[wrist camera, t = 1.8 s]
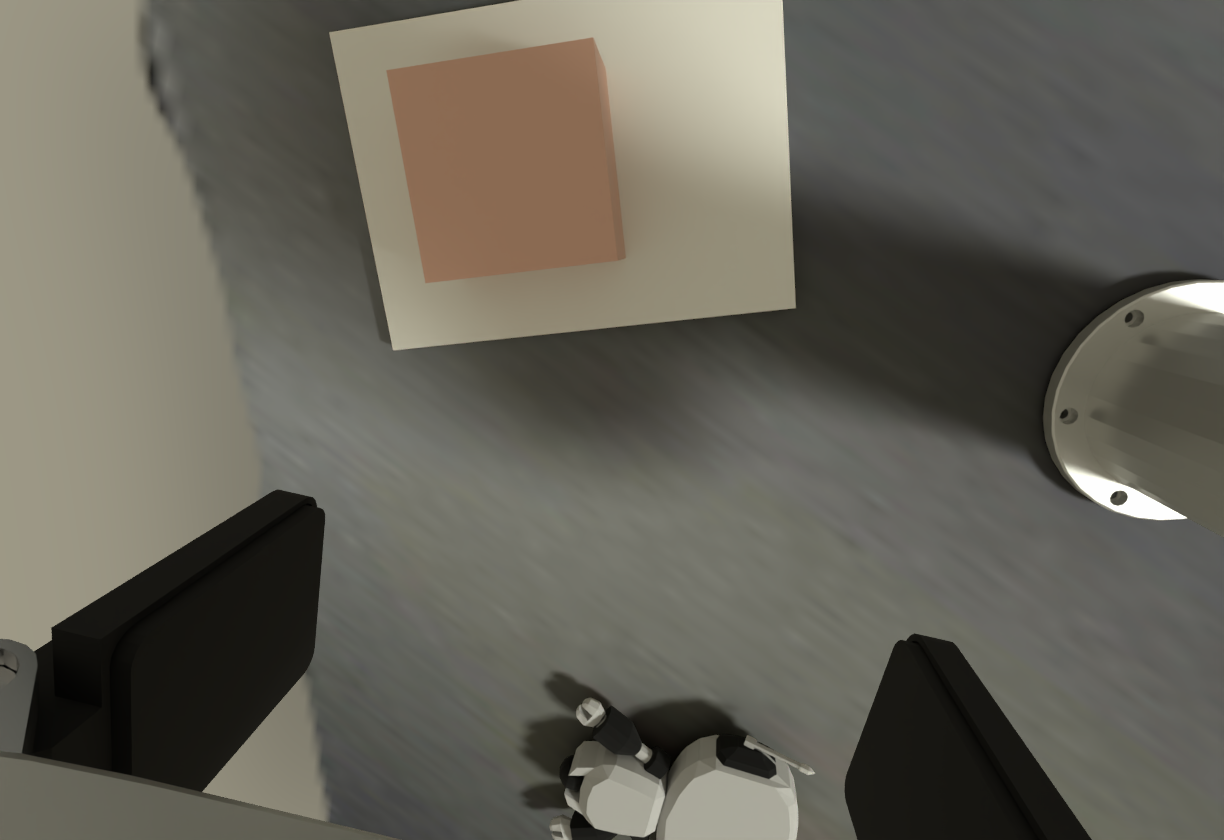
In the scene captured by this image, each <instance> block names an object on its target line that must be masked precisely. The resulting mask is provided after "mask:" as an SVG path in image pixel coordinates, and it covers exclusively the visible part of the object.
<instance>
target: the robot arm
mask: <svg viewBox="0 0 1224 840" xmlns="http://www.w3.org/2000/svg"><path fill="white" fill-rule="evenodd" d="M1126 315H1127V317H1126ZM1125 317H1126V319H1125ZM1062 411H1063V414H1062V415H1061V412H1062ZM1060 415H1061V416H1060ZM1043 425H1044V434H1045V441H1046V444H1047V447H1048V449H1049V452H1050V455H1051V458H1052V460H1053V462H1054V463H1055V465H1056V467H1057V468H1058V470H1059V471H1060V473H1061V475H1062V476H1063V477H1064V478H1065V479H1066V480H1067V481H1068V482H1069V483H1070V484H1071V485H1072V486H1073V487H1074V488H1075V489H1076V490H1077V491H1078V492H1080V493H1082V494H1083V495H1084V496H1086V497H1087V498H1089V499H1090V500H1092V501H1093V502H1095V503H1097V504H1099V505H1100V506H1102V507H1104V508H1106V509H1108V510H1110V511H1112V512H1115V513H1119V514H1122V515H1126V516H1129V517H1133V518H1138V519H1147V520H1157V521H1162V520H1178V519H1186V518H1188V519H1190V520H1192V521H1194V522H1196V523H1197V524H1199V525H1201V526H1203V527H1205V528H1207V529H1209V530H1210V531H1212V532H1214V533H1216V534H1218V535H1220V536H1222V537H1223V538H1224V280H1206V279H1194V280H1184V281H1175V282H1169V283H1166V284H1162V285H1158V286H1155V287H1151V288H1148V289H1145V290H1142V291H1140V292H1138V293H1136V294H1134V295H1132V296H1129V297H1127V298H1125V299H1123V300H1121V301H1119V302H1118V303H1116V304H1115V305H1113V306H1112V307H1110V308H1109V309H1107V310H1106V311H1104V312H1103V313H1101V314H1100V315H1098V316H1097V317H1096V318H1095V319H1094V320H1093V321H1092V322H1091V323H1090V324H1089V325H1087V326H1086V327H1085V328H1084V329H1083V330H1082V331H1081V332H1080V333H1079V334H1078V335H1077V337H1076V338H1075V339H1074V340H1073V342H1072V343H1071V344H1070V346H1069V347H1068V348H1067V349H1066V351H1065V352H1064V353H1063V355H1062V357H1061V359H1060V361H1059V363H1058V365H1057V366H1056V368H1055V370H1054V372H1053V374H1052V377H1051V380H1050V383H1049V386H1048V389H1047V393H1046V396H1045V403H1044V413H1043ZM324 526H325V513H324V510H323V509H321V508H317V504H316V501H315V499H314V498H313V497H309V496H304V495H300V494H296V493H291V492H287V491H282V490H275V491H273V492H271V493H269V494H268V495H266V496H265V497H263V498H261V499H260V500H258V501H256V502H255V503H253V504H252V505H250V506H248V507H247V508H245V509H243V510H242V511H240V512H239V513H237V514H236V515H234V516H232V517H230V518H229V519H227V520H226V521H224V522H223V523H221V524H219V525H218V526H216V527H214V528H213V529H211V530H209V531H208V532H206V533H205V534H203V535H201V536H200V537H198V538H196V539H195V540H193V541H192V542H190V543H188V544H187V545H185V546H184V547H182V548H180V549H179V550H177V551H175V552H174V553H172V554H170V555H169V556H167V557H166V558H164V559H162V560H161V561H159V562H157V563H156V564H154V565H153V566H151V567H149V568H148V569H146V570H144V571H143V572H141V573H140V574H138V575H136V576H135V577H133V578H132V579H130V580H128V581H127V582H125V583H123V584H122V585H121V586H119V587H117V588H115V589H114V590H112V591H110V592H109V593H107V594H106V595H104V596H102V597H101V598H99V599H98V600H96V601H94V602H93V603H91V604H89V605H88V606H86V607H85V608H83V609H81V610H80V611H78V612H76V613H75V614H73V615H72V616H70V617H68V618H67V619H65V620H64V621H62V622H60V623H59V624H57V625H55V626H54V627H52V640H51V641H50V642H48V643H47V644H45V645H44V646H42V647H40V648H39V649H37V650H36V651H32V650H31V649H30V648H29V647H28V646H27V645H25V644H22V643H19V642H16V641H13V640H9V639H0V840H400V839H396V838H392V837H388V836H383V835H379V834H375V833H371V832H367V831H363V830H358V829H354V828H350V827H346V826H342V825H337V824H333V823H329V822H325V821H321V820H316V819H312V818H308V817H303V816H300V815H296V814H291V813H287V812H283V811H279V810H274V809H270V808H266V807H262V806H258V805H253V804H249V803H245V802H241V801H237V800H233V799H228V798H224V797H220V796H216V795H211V794H207V793H203V792H202V791H203V790H204V789H205V788H206V787H207V785H208V784H209V783H210V782H211V781H212V780H213V778H214V777H215V776H216V775H217V774H218V772H219V771H220V770H221V769H222V768H223V767H224V766H225V764H226V763H227V762H228V761H229V760H230V759H231V758H232V756H233V755H234V754H235V753H236V752H237V751H238V749H239V748H240V747H241V746H242V745H243V744H244V743H245V741H246V740H247V739H248V738H249V737H250V736H251V734H252V733H253V732H254V731H255V730H256V729H257V727H258V726H259V725H260V724H261V723H262V722H263V720H264V719H265V718H266V717H267V716H268V715H269V714H270V712H271V711H272V710H273V709H274V707H276V705H277V704H278V703H279V702H280V701H281V700H282V698H283V697H284V696H285V695H286V694H287V693H288V692H289V690H290V689H291V688H292V687H293V686H294V685H295V683H296V682H297V681H298V680H299V679H300V678H301V676H302V675H303V674H304V673H305V671H306V670H307V668H308V666H309V665H310V662H311V660H312V657H313V654H314V648H315V637H316V624H317V612H318V600H319V587H320V575H321V563H322V550H323V538H324ZM845 799H846V803H847V806H848V810H849V813H850V816H851V820H852V823H853V826H854V829H855V833H856V836H857V839H858V840H1092V839H1091V838H1090V837H1089V835H1088V834H1087V832H1086V831H1085V829H1084V828H1083V827H1082V825H1081V824H1080V822H1079V821H1078V819H1077V818H1076V817H1075V815H1074V814H1073V812H1072V811H1071V809H1070V808H1069V807H1068V805H1067V804H1066V802H1065V801H1064V799H1063V798H1062V796H1061V795H1060V794H1059V792H1058V791H1057V789H1056V788H1055V786H1054V785H1053V784H1052V782H1051V781H1050V779H1049V778H1048V776H1047V775H1046V774H1045V772H1044V771H1043V769H1042V768H1041V766H1040V765H1039V763H1038V762H1037V761H1036V759H1035V758H1034V756H1033V755H1032V753H1031V752H1030V751H1029V749H1028V748H1027V746H1026V745H1025V743H1024V742H1023V741H1022V739H1021V738H1020V736H1019V735H1018V733H1017V732H1016V730H1015V729H1014V728H1013V726H1012V725H1011V723H1010V722H1009V720H1008V719H1007V718H1006V716H1005V715H1004V713H1003V712H1002V710H1001V709H1000V708H999V706H998V705H997V703H996V702H995V700H994V699H993V698H992V696H991V695H990V693H989V692H988V690H987V689H986V687H985V686H984V685H983V683H982V682H981V680H980V679H979V677H978V676H977V675H976V673H975V672H974V670H973V669H972V667H971V666H970V665H969V663H968V662H967V660H966V659H965V657H964V656H963V654H962V653H961V652H960V650H959V649H958V647H957V646H956V645H955V644H954V643H953V642H950V641H945V640H941V639H937V638H932V637H928V636H923V635H919V634H913V635H911V636H910V637H909V638H908V639H907V641H904V640H900V641H898V642H897V643H896V644H895V646H894V648H893V651H892V653H891V656H890V659H889V661H888V664H887V667H886V669H885V672H884V675H883V678H882V680H881V683H880V686H879V688H878V691H877V694H876V696H875V699H874V702H873V705H872V707H871V710H870V713H869V715H868V718H867V721H866V723H865V726H864V729H863V731H862V734H861V737H860V740H859V742H858V745H857V748H856V750H855V753H854V756H853V758H852V761H851V764H850V767H849V769H848V772H847V775H846V780H845Z"/></svg>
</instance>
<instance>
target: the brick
mask: <svg viewBox="0 0 1224 840" xmlns="http://www.w3.org/2000/svg"><path fill="white" fill-rule="evenodd" d="M386 71H387V77H388V82H389V88H390V93H391V98H392V104H393V109H394V115H395V120H396V126H397V131H398V137H399V142H400V147H401V153H402V158H403V164H404V169H405V175H406V180H407V186H408V191H409V196H410V202H411V207H412V213H413V218H414V224H415V229H416V234H417V240H418V245H419V251H420V256H421V262H422V267H423V273H424V278H425V283H431V282H440V281H449V280H457V279H466V278H474V277H483V276H491V275H500V274H508V273H517V272H525V271H534V270H542V269H551V268H559V267H568V266H577V265H585V264H594V263H602V262H611V261H618V260H622V259H625V258H626V255H625V245H624V236H623V226H622V217H621V208H620V198H619V189H618V180H617V170H616V161H615V151H614V142H613V133H612V123H611V114H610V105H609V95H608V86H607V76H606V68H605V66H604V63H603V61H602V58H601V56H600V53H599V50H598V48H597V45H596V43H595V40H594V38H593V37H592V38H586V39H580V40H573V41H567V42H561V43H555V44H548V45H542V46H536V47H529V48H523V49H517V50H511V51H504V52H498V53H492V54H485V55H479V56H473V57H467V58H460V59H454V60H448V61H441V62H435V63H429V64H423V65H416V66H410V67H404V68H397V69H391V70H386Z"/></svg>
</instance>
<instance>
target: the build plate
mask: <svg viewBox="0 0 1224 840" xmlns="http://www.w3.org/2000/svg"><path fill="white" fill-rule="evenodd" d="M329 34H330V39H331V44H332V49H333V54H334V59H335V64H336V69H337V74H338V79H339V84H340V89H341V94H342V99H343V104H344V109H345V114H346V119H347V124H348V129H349V134H350V139H351V144H352V149H353V154H354V159H355V163H356V168H357V173H358V178H359V183H360V188H361V193H362V198H363V203H364V208H365V213H366V218H367V223H368V228H369V233H370V238H371V243H372V248H373V253H374V258H375V263H376V268H377V273H378V278H379V283H380V288H381V293H382V298H383V303H384V308H385V313H386V318H387V322H388V327H389V332H390V337H391V342H392V347H393V350H402V349H411V348H421V347H430V346H440V345H449V344H459V343H469V342H478V341H488V340H497V339H507V338H516V337H526V336H535V335H545V334H554V333H564V332H573V331H583V330H592V329H602V328H611V327H621V326H630V325H640V324H649V323H659V322H669V321H678V320H688V319H697V318H707V317H716V316H726V315H735V314H745V313H754V312H764V311H773V310H783V309H792V308H796V301H795V278H794V255H793V233H792V210H791V187H790V164H789V141H788V118H787V95H786V72H785V49H784V26H783V3H782V0H519V1H513V2H507V3H501V4H495V5H489V6H483V7H477V8H471V9H465V10H459V11H453V12H447V13H441V14H435V15H430V16H424V17H418V18H412V19H406V20H400V21H394V22H388V23H382V24H376V25H370V26H364V27H358V28H352V29H346V30H340V31H334V32H329ZM592 37H593V38H594V40H595V43H596V45H597V48H598V50H599V53H600V56H601V58H602V61H603V63H604V66H605V68H606V76H607V86H608V95H609V105H610V114H611V123H612V133H613V142H614V151H615V161H616V170H617V180H618V189H619V198H620V208H621V217H622V226H623V236H624V245H625V255H626V258H625V259H622V260H618V261H611V262H602V263H594V264H585V265H577V266H568V267H559V268H551V269H542V270H534V271H525V272H517V273H508V274H500V275H491V276H483V277H474V278H466V279H457V280H449V281H440V282H431V283H425V278H424V273H423V267H422V262H421V256H420V251H419V245H418V240H417V234H416V229H415V224H414V218H413V213H412V207H411V202H410V196H409V191H408V186H407V180H406V175H405V169H404V164H403V158H402V153H401V147H400V142H399V137H398V131H397V126H396V120H395V115H394V109H393V104H392V98H391V93H390V88H389V82H388V77H387V71H386V70H391V69H397V68H404V67H410V66H416V65H423V64H429V63H435V62H441V61H448V60H454V59H460V58H467V57H473V56H479V55H485V54H492V53H498V52H504V51H511V50H517V49H523V48H529V47H536V46H542V45H548V44H555V43H561V42H567V41H573V40H580V39H586V38H592Z"/></svg>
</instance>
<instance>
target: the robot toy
mask: <svg viewBox="0 0 1224 840" xmlns="http://www.w3.org/2000/svg"><path fill="white" fill-rule="evenodd" d="M576 717H577V718H578V719H579V721H580V722H581V723H582V724H583V725H585V726H590V727H594V730H593V737H592V738H594V739H595V740H596V741H584V742H583V743H582V744H581V745H580V746H579V747H578V748H577V749H576V752H575V755H572V756H569V757H567V758H566V759H565V760H564V761H563V763H562V764H561V767H560V779H561V781H562V783H563V785H564V786H565V787H566V789H565V793H564V795H565V798H566V801H567V804H568V805H569V806H570V807H572V808H573V809H575V812H574V814H573V816H572V819H571V818H569V817H567V816H565V815H560V816H557V817H554V818H553V819H552V821H551V822H550V830H551V831H553V832H552V837H553V838H554V839H555V840H611V839H613V838H614V837H615V836H616V835H617V834H622V835H628V836H630V837H631V838H632V840H648V839H649V835H650V834H651V833H652V832H654V831H655V829H656V825H657V834H656V840H796V836H797V829H798V806H797V798H796V791H795V783H794V778H793V776H792V773H791V771H790V769H789V766H788V764H789V765H791V766H793V767H796V768H798V769H800V770H799V771H801V772H803V773H805V774H807V775H810V774H815V773H814V771H813V770H812V769H811V767H810V766H808V765H806V764H803V763H799V762H797V761H795V760H792V759H790V758H788V757H786V756H784V755H782V754H780V753H778V752H776V751H774V750H773V749H771V748H769V747H768V746H766V745H763V744H762V743H760V742H756V741H757V739H755V738H753V737H751V736H749V735H747V737H746V738H743V737H740V736H733V735H729V734H722V735H720V736H719V735H713V736H708V737H704V738H699V739H698V740H696V741H695V742H693V743H692V744H690V745H688V746H687V747H686V748H685V749H684V750H683V751H682V752H681V753H680V755H679V756H678V758H677V759H676V760H675V762H674V763H673V765H672V767H671V769H670V771H669V773H668V770H669V766H670V762H671V761H670V756H669V755H668V754H667V753H666V752H664V751H663V750H662V749H660V748H659V747H658V746H657V747H655V748H653V749H649V748H648V747H647V746H645V745H644V744H643V743H642V742H641V740H640V737H639V734H638V732H637V730H636V728H635V726H634V724H633V722H632V721H631V720H630V719H628V718H627V717H626V716H624V715H623V714H622V713H621V712H619V711H618V710H617V709H615V708H614V707H613V706H610V707H609V708H607V709H606V710H604V708H603V707H602V705H601V703H600V702H599V701H597V700H595V699H593V698H591V697H590V698H586V699H585V700H584V701H583V703H582V705H581V704H580V705H579V706H578V707H577V709H576ZM786 763H787V764H786ZM667 773H668V775H667Z"/></svg>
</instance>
